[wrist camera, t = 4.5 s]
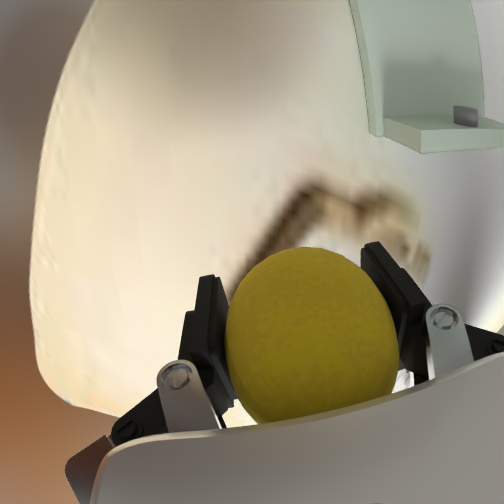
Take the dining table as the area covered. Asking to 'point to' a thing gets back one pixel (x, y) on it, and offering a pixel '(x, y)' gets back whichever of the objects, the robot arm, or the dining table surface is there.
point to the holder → (424, 74)
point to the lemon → (308, 336)
